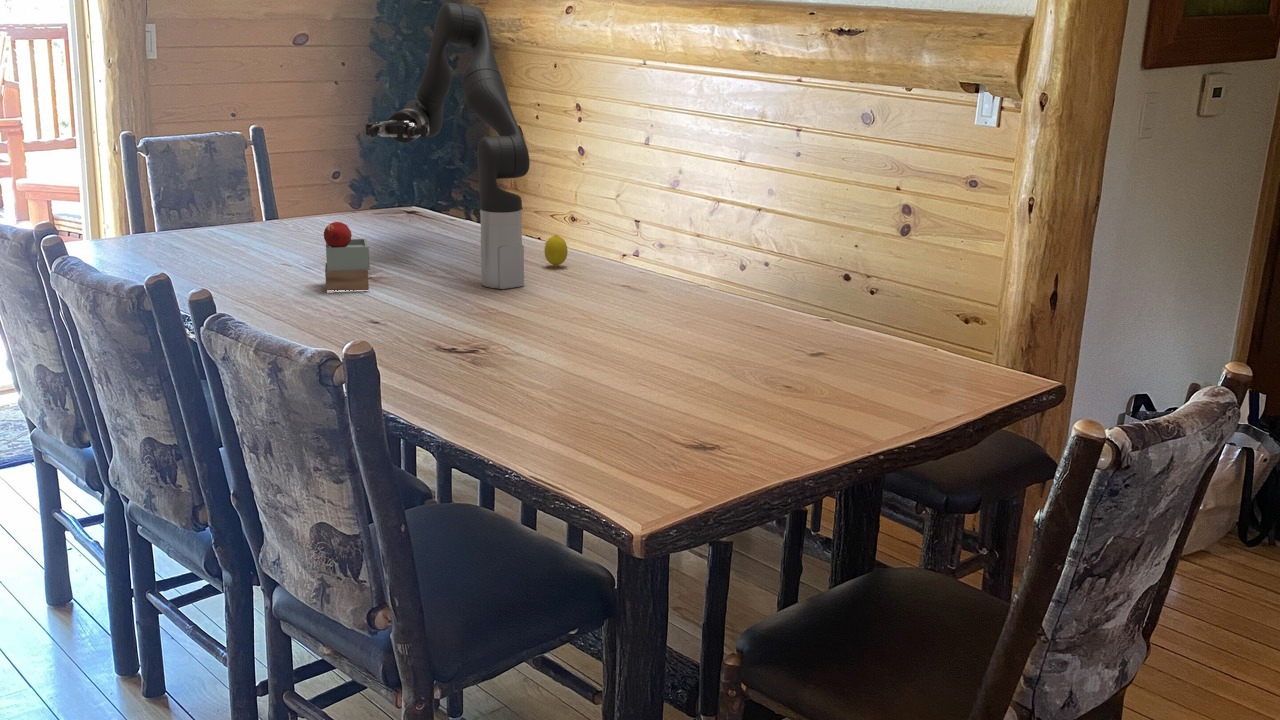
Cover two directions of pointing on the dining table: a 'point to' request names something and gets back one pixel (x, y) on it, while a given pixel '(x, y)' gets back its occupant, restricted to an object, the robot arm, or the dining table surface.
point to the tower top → (348, 256)
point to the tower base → (346, 280)
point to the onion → (337, 234)
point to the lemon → (556, 250)
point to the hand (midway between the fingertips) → (390, 132)
